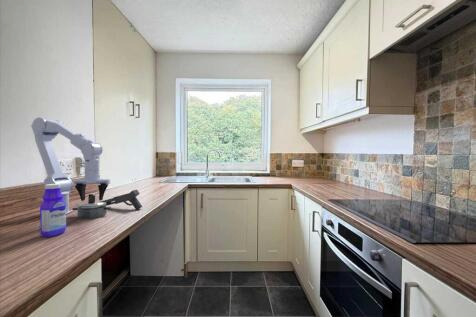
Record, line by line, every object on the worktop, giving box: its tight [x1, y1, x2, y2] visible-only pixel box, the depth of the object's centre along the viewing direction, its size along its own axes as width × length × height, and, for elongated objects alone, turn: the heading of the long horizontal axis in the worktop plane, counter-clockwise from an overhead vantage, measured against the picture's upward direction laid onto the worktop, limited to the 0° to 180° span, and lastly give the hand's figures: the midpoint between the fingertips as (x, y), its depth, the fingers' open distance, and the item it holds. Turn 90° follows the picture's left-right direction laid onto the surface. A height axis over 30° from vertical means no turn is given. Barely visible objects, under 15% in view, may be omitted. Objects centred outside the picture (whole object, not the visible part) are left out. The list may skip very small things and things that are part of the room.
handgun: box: [99, 189, 143, 211], centre depth 124 cm, size 4×24×10 cm, turn 80°
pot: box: [71, 205, 112, 220], centre depth 109 cm, size 15×11×4 cm
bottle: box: [39, 184, 67, 238], centre depth 84 cm, size 7×6×17 cm
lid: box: [75, 193, 106, 209], centre depth 108 cm, size 12×12×6 cm
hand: (92, 200), depth 109 cm, fingers open, 7 cm apart
